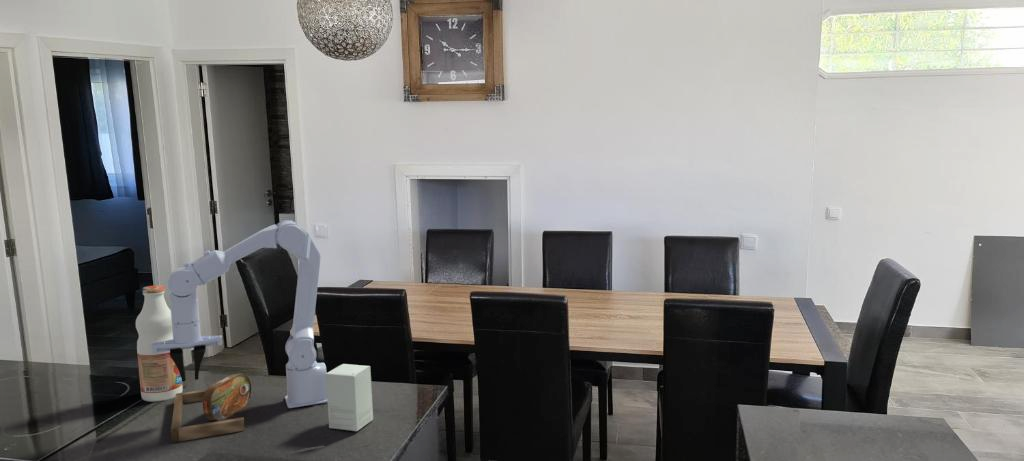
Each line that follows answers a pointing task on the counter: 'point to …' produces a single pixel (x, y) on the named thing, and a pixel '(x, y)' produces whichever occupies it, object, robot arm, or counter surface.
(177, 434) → the wooden u-shaped frame
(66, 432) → the counter surface
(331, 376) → the supplement box
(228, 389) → the tin
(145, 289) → the fruit juice
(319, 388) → the robot arm
